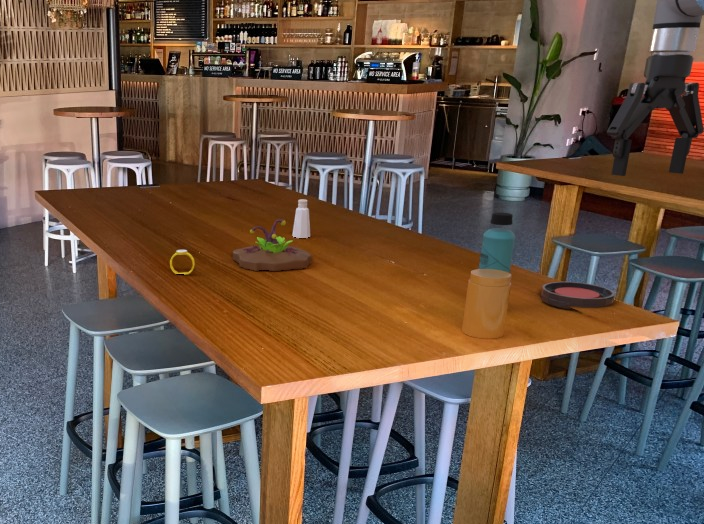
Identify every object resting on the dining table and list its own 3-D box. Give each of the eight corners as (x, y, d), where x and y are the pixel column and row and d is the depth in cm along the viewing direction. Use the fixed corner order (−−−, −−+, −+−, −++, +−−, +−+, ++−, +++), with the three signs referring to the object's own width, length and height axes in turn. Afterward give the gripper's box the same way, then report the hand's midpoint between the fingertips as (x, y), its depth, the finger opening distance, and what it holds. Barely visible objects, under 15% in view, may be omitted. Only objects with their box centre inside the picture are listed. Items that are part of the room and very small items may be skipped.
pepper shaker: (302, 234, 241) (304, 197, 237) (314, 237, 237) (316, 200, 233) (288, 236, 238) (290, 199, 234) (299, 239, 234) (301, 201, 230)
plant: (320, 269, 199) (323, 225, 195) (244, 273, 196) (245, 227, 192) (298, 252, 217) (300, 211, 213) (228, 255, 214) (229, 213, 210)
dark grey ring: (627, 309, 166) (630, 296, 165) (569, 315, 162) (572, 301, 161) (580, 292, 178) (582, 279, 177) (526, 297, 175) (528, 284, 174)
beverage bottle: (488, 302, 171) (501, 209, 164) (512, 310, 166) (527, 214, 158) (465, 306, 169) (478, 211, 161) (489, 314, 163) (503, 216, 156)
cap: (544, 297, 173) (545, 288, 172) (578, 294, 175) (580, 286, 174) (571, 308, 165) (573, 299, 164) (607, 305, 167) (609, 296, 167)
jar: (511, 336, 149) (521, 276, 145) (476, 340, 148) (485, 279, 143) (487, 325, 156) (496, 267, 152) (453, 328, 154) (461, 270, 150)
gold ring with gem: (195, 273, 196) (195, 249, 194) (193, 276, 193) (193, 252, 191) (171, 272, 197) (171, 249, 194) (169, 275, 194) (169, 251, 192)
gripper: (707, 55, 151) (683, 170, 159) (598, 54, 145) (579, 174, 152) (742, 54, 144) (715, 173, 152) (630, 53, 138) (608, 178, 145)
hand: (647, 174), depth 152 cm, fingers open, 13 cm apart
